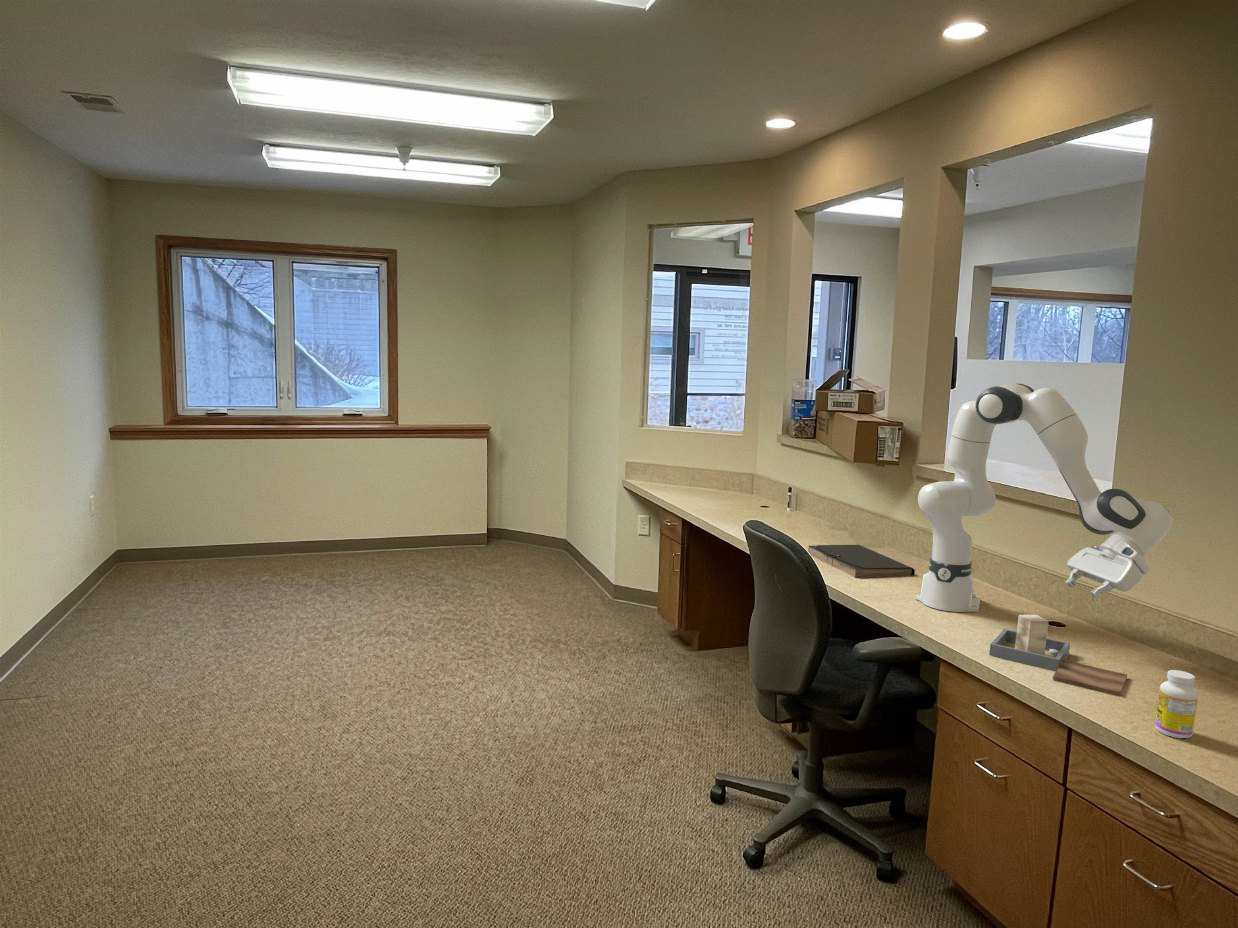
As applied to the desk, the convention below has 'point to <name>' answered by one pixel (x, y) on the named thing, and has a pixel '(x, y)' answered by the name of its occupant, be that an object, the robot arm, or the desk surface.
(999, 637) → the parts tub
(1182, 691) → the supplement bottle
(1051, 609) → the desk surface
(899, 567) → the dark flat wooden case
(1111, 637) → the desk surface
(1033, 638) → the block
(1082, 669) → the walnut board
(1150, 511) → the robot arm
